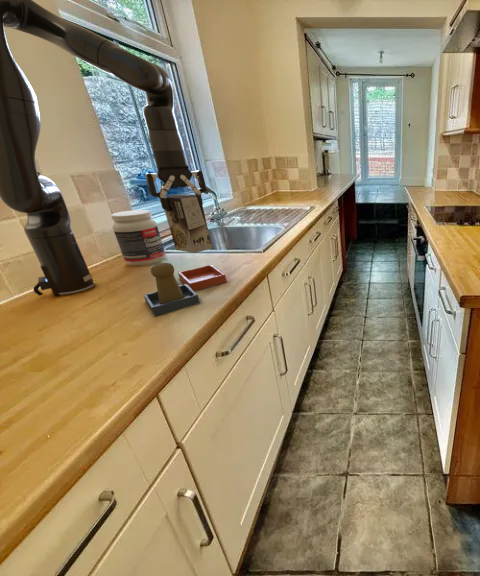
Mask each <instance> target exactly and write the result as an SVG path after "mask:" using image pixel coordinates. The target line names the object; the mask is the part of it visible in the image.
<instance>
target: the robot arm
mask: <svg viewBox="0 0 480 576" xmlns="http://www.w3.org/2000/svg"><path fill="white" fill-rule="evenodd" d="M5 28H9V29H14V30H17V31H20V32H22V33H26V34H29V35H32V36H34V37H37V38H40V39H41V40H45V41H47V42H49V43H51V44H53V45H54V46H57V47H59V48H60V49H62V50H64V51H65V52H67V53H68V54H70V55H72V56H74V57H75V58H78V60H81V61H83V62H85V63H86V64H88V65H90V66H92V67H95V68H96V69H98V70H100V71H102V72H105V73H107V74H109V75H111V76H114V77H116V78H117V79H119V80H121V81H122V82H123V83H125V84H127V85H129V86H131V87H133V88H134V89H137V90H139V91H141V92H144V93H145V98H146V99H145V100H146V105H144V106H143V107H142V114H143V115H142V116H143V118H144V122H145V126H146V129H147V133H148V141H149V144H150V149H151V152H152V154H153V158H154V161H155V166H156V170H157V171H156V173H149V172H146V173H145V174H144V177H145V181H146V184H147V189H148V193H149V195H150V196H152V197H154V198H158V199H159V202H160V205H161V208H162V209H163V210H164V211H165V210H166V211H167V212H169V211H170V209H169V205H168V201H167V198H165V196H167V194H168V192H169V191H170V189H178V188H186V187H187V188H188V189H189V190H191V192H193V193H194V195H200V197H201V201H202V205H203V206H204V202H203V198H202V194H203V193H206V192H208V189H207V185H206V182H205V177H204V173H203V171H201V170H198V169H197V170H195V171H191V170H190V168H189V163H188V159H187V155H186V151H185V145H184V142H183V138H182V135H181V134H180V131H179V126H178V122H177V118H176V114H175V99H174V89H173V88H174V87H173V84H172V81H171V78H170V76H169V74H168V73H167V71H166V70H165V69H164V68H163V67H161V65H158V64H156V63H154V62H152V61H149V60H147V59H146V58H142V57H140V56H138V55H136V54H134V53H132V52H130V51H127V50H126V49H124V48H122V47H121V46H120V45H118V44H117V43H115V42H113V41H111V40H109V39H107V38H105V37H104V36H101V35H99V34H97V33H96V32H93V31H91V30H89V29H87V28H85V27H83V26H81V25H79V24H76V23H74V22H72V21H69V20H68V19H65V18H62V17H60V16H59V15H57V14H54V13H53V12H51V11H49V10H48V9H46V8H45V7H43V6H41V5H40V4H38V3H37V2H36V1H34V0H0V200H1V201H2V202H3V203H4V204H5V205H6V206H7V207H9V208H10V209H11V210H13V211H15V212H18V213H24V214H26V216H27V219H26V223H25V225H24V227H23V231H24V234H25V235H26V237H27V239H28V241H29V244H30V247H31V248H32V250H33V252H34V254H35V257H36V258H37V261H38V262H39V264H40V270H41V272H42V273H43V276H39V277H38V279H37V284H36V285H34V287H33V292H34V294H36V295H37V296H40V297H41V296H43V295H44V293H43V292H42V291H46V290H51V292H52V294H53V297H55V298H57V297H62V296H63V297H66V296H72V295H77V294H80V293H84V292H87V291H90V290H92V289H93V288H95V287H96V283H95V281H94V279H93V275H92V273H91V272H90V270H89V268H88V264H87V263H86V261H85V258H84V256H83V253H82V250H81V249H80V245H79V244H78V241H77V239H76V236H75V234H74V232H73V229H72V226H71V223H72V220H71V216H70V215H71V214H70V213H69V210H68V207H67V204H66V201H65V199H64V196H63V194H62V191H61V190H60V188H59V186H58V185H57V184H56V183H55V182H54V181H53V180H51V179H50V178H48V177H47V176H44V175H41V174H38V170H37V165H36V150H37V146H38V141H39V137H40V134H41V127H42V126H41V125H42V124H41V116H40V109H39V104H38V99H37V95H36V93H35V91H34V88H33V87H32V85H31V84H30V82H29V80H28V79H27V77H26V75H25V73H24V72H23V70H22V69H21V68H20V66H19V64H18V63H17V61H16V59H15V58H14V56H13V53H12V52H11V49H10V47H9V44H8V40H7V39H8V38H7V34H6V29H5ZM192 177H194V179H197V184H198V187H199V188H197V186H196V185H195V184H194V183H192V182H191V179H192ZM157 178H158V179H159V180H160V181H161V182H162V184H161V187H160V189H159V191H157V189H156V185H155V182H157ZM39 289H40V290H41V291H40V290H39Z"/></svg>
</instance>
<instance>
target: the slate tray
mask: <svg viewBox="0 0 480 576" xmlns="http://www.w3.org/2000/svg"><path fill="white" fill-rule="evenodd" d="M179 287H180V289H181V291H182V293H183V295H184V297H185V298H182V299H179V300H175V301H172V302H168V303H164V304H161V305H160V303H159V297H158V291H153V292H150V293H146V294H143V298H144V301H145V303H146V305H147V307H148V308H149V310H150V312H151V313H152V315H153V316H154V317H159V316H161V315H162V316H163V315H166V314H169V313H172V312H176V311H178V310H183V309H185V308H189V307H193V306H196V305H199V304H200V303H201V301H200V298H199V294H197V293H196V292H195V291H193V290H192V289H191V288H190V287H189V286H188V285H187V284H184V283H183V284H181V285H179Z"/></svg>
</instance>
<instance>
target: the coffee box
mask: <svg viewBox="0 0 480 576" xmlns="http://www.w3.org/2000/svg"><path fill="white" fill-rule="evenodd" d="M201 197H202V196H201ZM201 197H200V195H195V194H190V193H189V194H188V193H187V194H186V193H177V194H170V195H166V196H165V198H167V201H168V205H169V209H170V211H169V212H167V211H166V210H164V214H165V217H166V221H167V223H168V224H167V225H168V228H169V232H170V234H171V238H172V240H173V244H174V249H175V250H176V251H181V252H185V253H186V252H187V253H191V254H197V253H201V252H203V251H204V252H205V251H208V250H211V249H213V245H212V241H211V240H212V239H211V236H210V232H209V227H208V223H207V220H206V215H205V209H204V204H203V205H202V202H203V200H202V201H201Z"/></svg>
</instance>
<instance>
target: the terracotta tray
mask: <svg viewBox="0 0 480 576" xmlns="http://www.w3.org/2000/svg"><path fill="white" fill-rule="evenodd" d="M177 274H178V278H179V280H180V281H181V282H182V283H183V285H184V284H187V285H188V286H189V287H190V288H191V289H192V290H193V291H194V292H195V291H198V290H202V289H206V288H210V287H213V286H217V285H221V284H224V283H227V282H228V281H227V277H226V274H225V273H224V272H223V271H221V270H220V269H218V268H217V267H215V265H212V264H207V265H202V266H199V267H195V268H189V269H186V270H181V271H177Z"/></svg>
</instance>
